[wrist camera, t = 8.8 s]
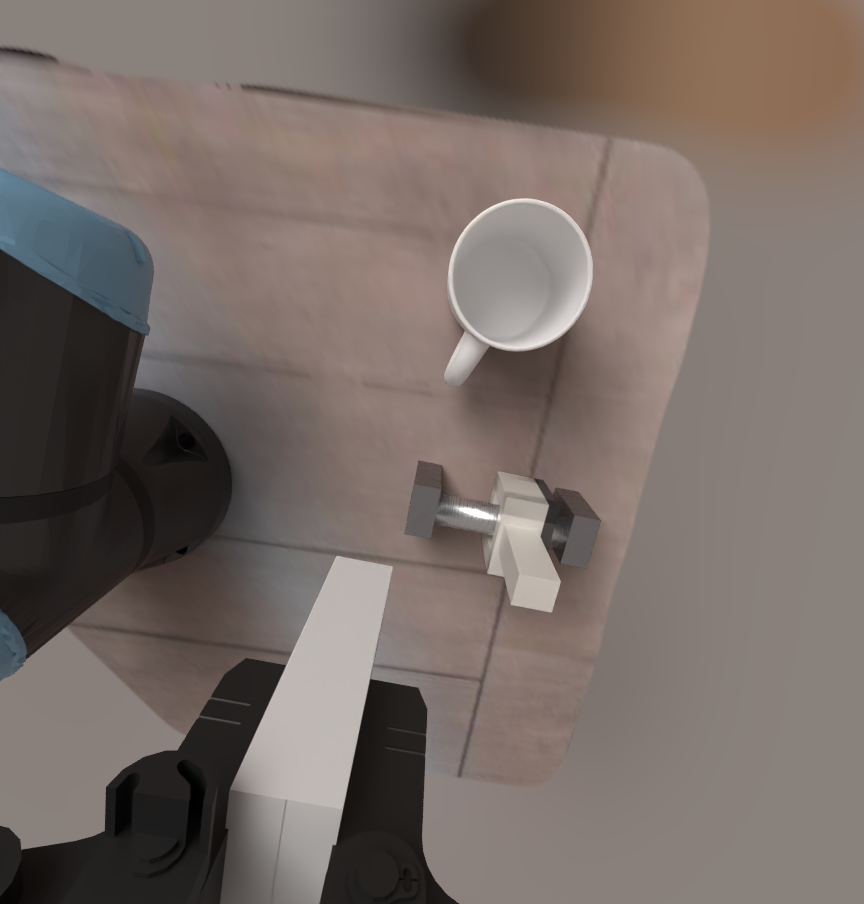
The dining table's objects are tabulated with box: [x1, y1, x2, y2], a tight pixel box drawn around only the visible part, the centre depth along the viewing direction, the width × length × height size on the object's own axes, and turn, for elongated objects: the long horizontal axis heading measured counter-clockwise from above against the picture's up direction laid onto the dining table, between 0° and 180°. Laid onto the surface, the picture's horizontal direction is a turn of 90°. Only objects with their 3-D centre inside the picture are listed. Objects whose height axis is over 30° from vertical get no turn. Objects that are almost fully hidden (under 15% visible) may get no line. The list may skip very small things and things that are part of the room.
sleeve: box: [481, 471, 561, 613], centre depth 34 cm, size 4×6×13 cm, turn 169°
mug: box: [444, 199, 593, 387], centre depth 33 cm, size 12×8×10 cm
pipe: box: [405, 461, 601, 569], centre depth 39 cm, size 14×4×6 cm, turn 79°
